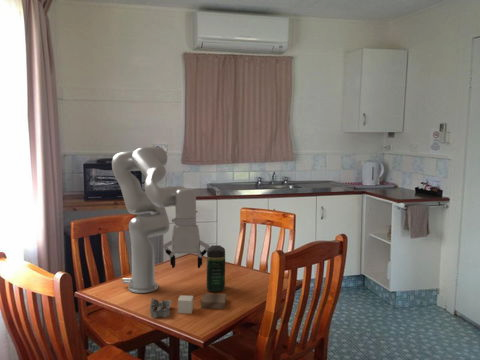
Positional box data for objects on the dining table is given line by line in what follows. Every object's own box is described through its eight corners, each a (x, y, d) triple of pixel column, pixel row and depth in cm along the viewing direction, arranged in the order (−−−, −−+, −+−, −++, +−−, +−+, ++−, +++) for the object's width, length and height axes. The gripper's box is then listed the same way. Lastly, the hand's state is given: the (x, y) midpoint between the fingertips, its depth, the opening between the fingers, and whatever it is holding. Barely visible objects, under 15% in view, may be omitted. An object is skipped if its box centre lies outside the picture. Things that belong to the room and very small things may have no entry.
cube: (177, 313, 166) (177, 300, 165) (180, 308, 171) (180, 295, 170) (191, 313, 166) (191, 300, 165) (193, 308, 171) (193, 295, 170)
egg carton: (151, 307, 172) (151, 297, 171) (171, 306, 172) (171, 296, 172) (148, 318, 161) (148, 308, 161) (169, 318, 162) (169, 307, 161)
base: (200, 309, 171) (200, 301, 170) (204, 300, 180) (204, 293, 179) (224, 310, 170) (224, 302, 170) (226, 301, 179) (226, 294, 179)
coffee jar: (225, 292, 187) (225, 249, 185) (206, 292, 187) (206, 249, 185) (224, 284, 197) (225, 243, 195) (206, 285, 196) (206, 243, 194)
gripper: (160, 223, 161) (161, 269, 163) (208, 224, 161) (208, 270, 162) (164, 219, 169) (165, 263, 171) (210, 220, 168) (210, 264, 170)
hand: (186, 267), depth 167 cm, fingers open, 9 cm apart
